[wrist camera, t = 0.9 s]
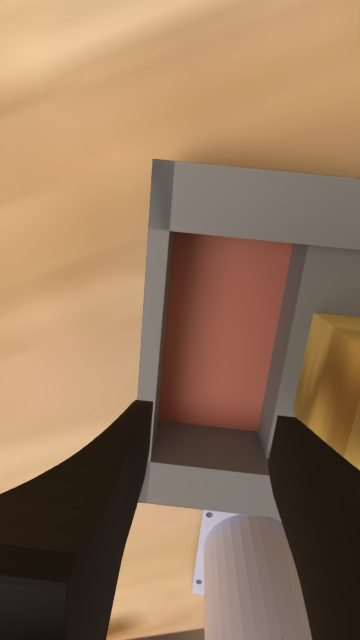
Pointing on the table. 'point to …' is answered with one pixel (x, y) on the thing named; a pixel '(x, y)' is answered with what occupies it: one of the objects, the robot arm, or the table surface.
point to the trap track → (235, 320)
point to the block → (332, 384)
